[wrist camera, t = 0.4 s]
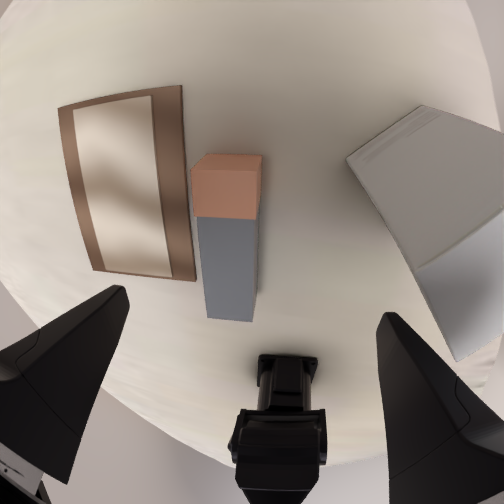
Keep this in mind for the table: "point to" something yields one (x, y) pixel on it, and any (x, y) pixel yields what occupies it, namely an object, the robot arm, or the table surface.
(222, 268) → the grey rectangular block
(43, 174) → the table surface
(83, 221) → the writing board
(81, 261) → the table surface
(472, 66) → the table surface
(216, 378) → the table surface
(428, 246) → the supplement box
